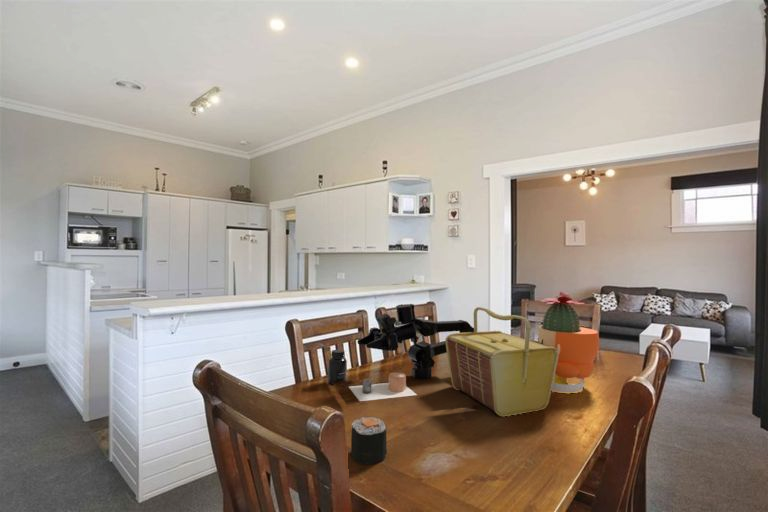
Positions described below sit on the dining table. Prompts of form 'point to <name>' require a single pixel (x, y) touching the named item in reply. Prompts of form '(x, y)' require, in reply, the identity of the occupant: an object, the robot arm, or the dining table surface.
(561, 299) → the potted cactus
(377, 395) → the off-white board
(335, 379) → the supplement bottle
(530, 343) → the picnic basket
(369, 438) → the sushi
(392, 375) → the terracotta cap
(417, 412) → the dining table surface
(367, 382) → the metal post
